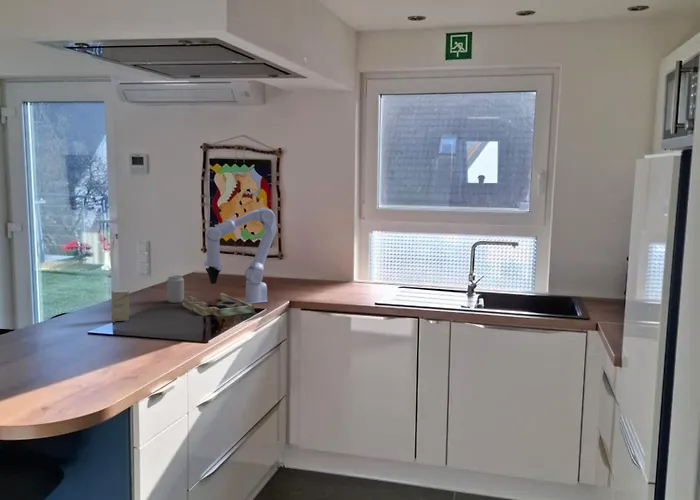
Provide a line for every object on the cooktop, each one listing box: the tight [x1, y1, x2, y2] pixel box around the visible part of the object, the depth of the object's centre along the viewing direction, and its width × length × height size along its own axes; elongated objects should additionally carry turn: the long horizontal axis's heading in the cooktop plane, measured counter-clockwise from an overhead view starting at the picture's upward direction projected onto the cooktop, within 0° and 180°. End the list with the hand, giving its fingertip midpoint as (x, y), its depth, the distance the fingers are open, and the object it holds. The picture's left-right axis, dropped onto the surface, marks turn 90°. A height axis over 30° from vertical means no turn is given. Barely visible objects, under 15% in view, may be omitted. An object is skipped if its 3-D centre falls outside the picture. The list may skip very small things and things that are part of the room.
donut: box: [214, 300, 242, 309], centre depth 274 cm, size 12×12×4 cm
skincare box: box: [111, 289, 130, 323], centre depth 251 cm, size 6×4×12 cm
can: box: [166, 274, 185, 304], centre depth 288 cm, size 8×8×12 cm
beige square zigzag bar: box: [182, 292, 255, 318], centre depth 279 cm, size 22×31×3 cm
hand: (213, 283), depth 286 cm, fingers closed
